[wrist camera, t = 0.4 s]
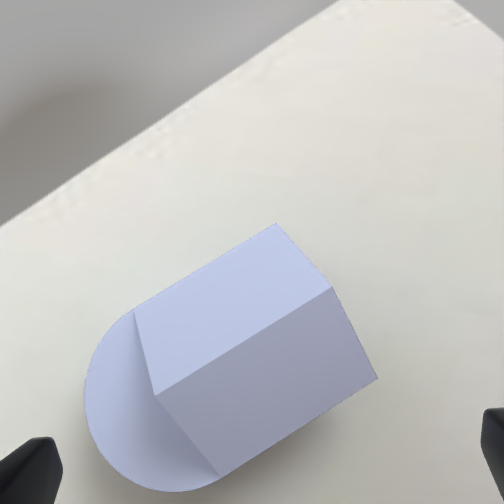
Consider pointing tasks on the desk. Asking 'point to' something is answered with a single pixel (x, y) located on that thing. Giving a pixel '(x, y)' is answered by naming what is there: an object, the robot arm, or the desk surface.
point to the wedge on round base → (221, 366)
